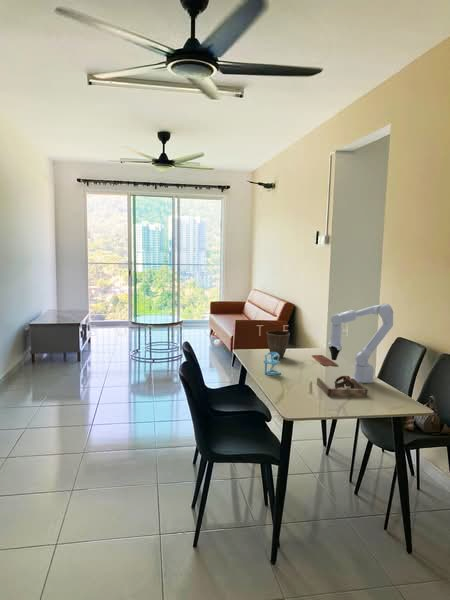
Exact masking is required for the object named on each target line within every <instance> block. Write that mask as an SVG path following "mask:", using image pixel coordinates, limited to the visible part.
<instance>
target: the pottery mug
mask: <svg viewBox="0 0 450 600" xmlns="http://www.w3.org/2000/svg"><path fill="white" fill-rule="evenodd" d="M341 380H343V381H341ZM345 387H348V388H350V389H355V386H354V383H353V381H352V380H351V377H350V376H349V375H341V376H339V377H337V378H335V381H334V389H345Z"/></svg>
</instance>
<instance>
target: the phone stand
mask: <svg viewBox="0 0 450 600" xmlns="http://www.w3.org/2000/svg"><path fill="white" fill-rule="evenodd" d="M268 355H270V359H268V358H267V356H268ZM272 355H274V356H273V357H272ZM275 357H278V358H275ZM279 357H280V355H279V354H278V353H276V352H270V351H269V352H267V353H266V354H264V358H265V359H264V360H263V363H264V373H263V374H264V375H267V376H275V375H276V376H277V375H282V371H278V370H275V369H274V367H275V366H276V365H278V364H281V361H279V359H280V358H279ZM268 364H269V365H270V366H271V367H270V369H268ZM267 369H268V370H267Z"/></svg>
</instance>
